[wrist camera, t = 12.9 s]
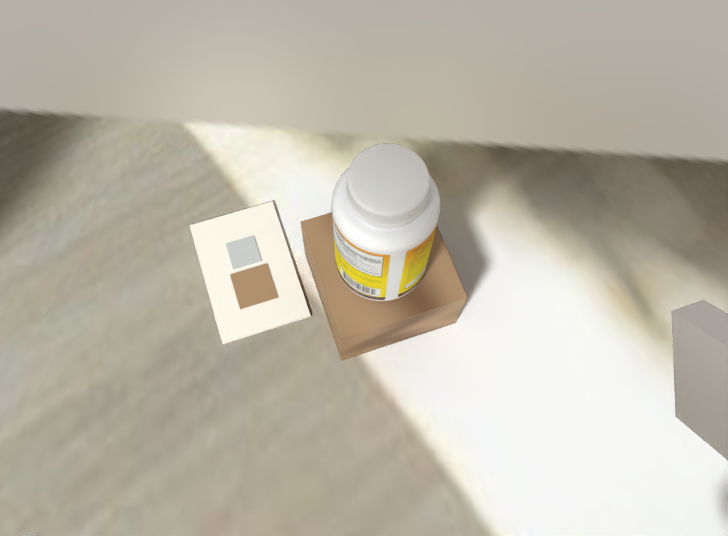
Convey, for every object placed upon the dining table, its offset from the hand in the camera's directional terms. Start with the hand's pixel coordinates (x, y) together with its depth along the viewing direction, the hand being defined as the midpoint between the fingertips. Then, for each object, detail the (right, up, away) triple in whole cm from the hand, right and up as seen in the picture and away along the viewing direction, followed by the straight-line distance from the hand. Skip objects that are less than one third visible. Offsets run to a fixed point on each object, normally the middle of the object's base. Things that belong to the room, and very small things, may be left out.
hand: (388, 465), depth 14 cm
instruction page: (-8, +4, +33) cm, 35 cm away
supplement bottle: (+1, +4, +29) cm, 29 cm away
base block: (+1, +3, +33) cm, 33 cm away
